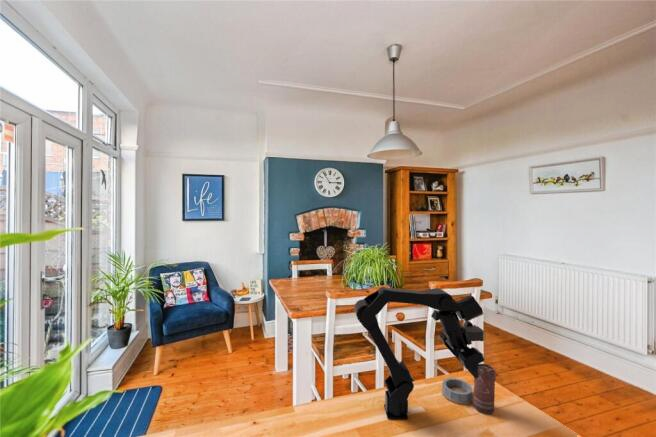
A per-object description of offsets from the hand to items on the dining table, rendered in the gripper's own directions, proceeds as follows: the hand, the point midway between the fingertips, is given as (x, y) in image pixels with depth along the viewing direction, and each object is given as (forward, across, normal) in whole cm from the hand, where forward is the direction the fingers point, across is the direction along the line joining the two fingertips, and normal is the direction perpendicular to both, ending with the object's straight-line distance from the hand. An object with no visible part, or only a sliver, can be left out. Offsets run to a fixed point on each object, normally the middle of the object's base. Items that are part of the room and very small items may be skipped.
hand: (469, 369), depth 98 cm
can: (+15, +1, 0) cm, 15 cm away
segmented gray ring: (+13, +8, +5) cm, 16 cm away
